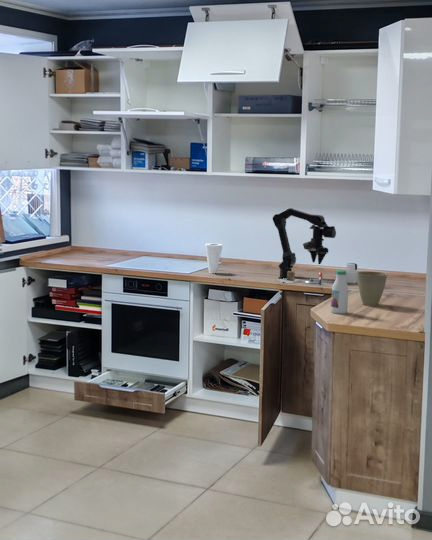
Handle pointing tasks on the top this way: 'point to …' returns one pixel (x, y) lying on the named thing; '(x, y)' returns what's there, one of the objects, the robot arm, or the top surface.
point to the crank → (314, 280)
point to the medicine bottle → (351, 273)
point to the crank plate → (316, 284)
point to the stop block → (290, 276)
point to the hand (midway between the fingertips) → (316, 263)
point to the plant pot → (371, 286)
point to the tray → (290, 281)
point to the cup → (213, 256)
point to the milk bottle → (339, 294)
